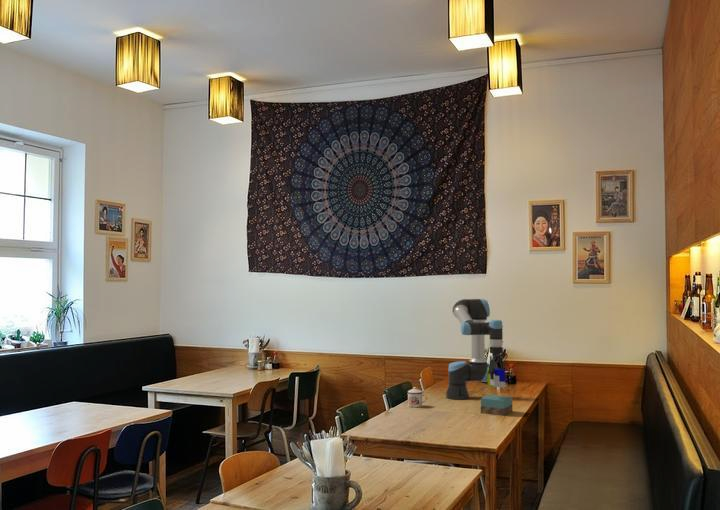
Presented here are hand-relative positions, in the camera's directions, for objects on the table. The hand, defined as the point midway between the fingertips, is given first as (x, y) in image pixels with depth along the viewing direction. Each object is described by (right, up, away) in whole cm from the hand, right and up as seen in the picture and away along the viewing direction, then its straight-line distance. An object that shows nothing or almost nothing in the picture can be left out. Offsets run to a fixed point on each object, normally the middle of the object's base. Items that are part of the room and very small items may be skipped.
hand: (496, 383), depth 388 cm
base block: (0, -17, 0) cm, 17 cm away
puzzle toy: (0, -2, 0) cm, 2 cm away
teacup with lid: (-45, -18, +18) cm, 52 cm away
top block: (0, -13, 0) cm, 13 cm away
